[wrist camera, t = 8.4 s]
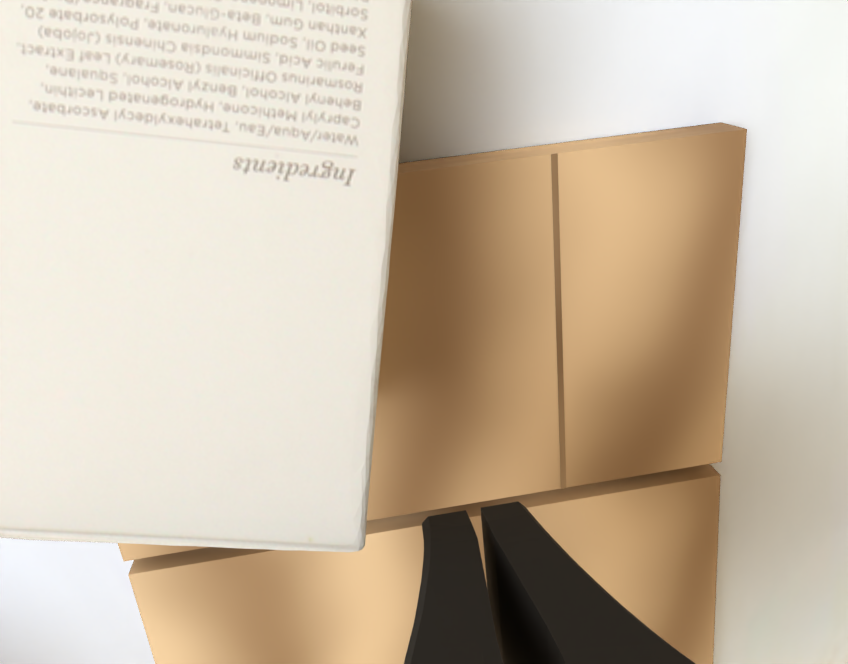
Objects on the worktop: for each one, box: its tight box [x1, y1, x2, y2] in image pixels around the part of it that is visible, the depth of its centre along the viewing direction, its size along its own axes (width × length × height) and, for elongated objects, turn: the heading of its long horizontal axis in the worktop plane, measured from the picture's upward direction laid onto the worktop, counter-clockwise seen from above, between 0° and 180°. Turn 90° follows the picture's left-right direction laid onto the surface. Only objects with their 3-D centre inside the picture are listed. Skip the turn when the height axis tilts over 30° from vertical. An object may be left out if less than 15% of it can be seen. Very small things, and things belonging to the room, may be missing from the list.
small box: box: [0, 0, 412, 552], centre depth 14 cm, size 8×6×10 cm
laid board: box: [118, 123, 747, 561], centre depth 20 cm, size 18×10×1 cm, turn 96°
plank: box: [129, 464, 720, 664], centre depth 24 cm, size 18×10×1 cm, turn 96°
